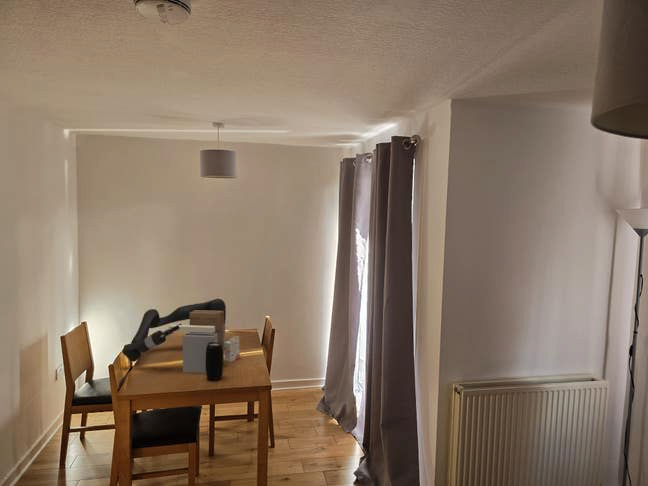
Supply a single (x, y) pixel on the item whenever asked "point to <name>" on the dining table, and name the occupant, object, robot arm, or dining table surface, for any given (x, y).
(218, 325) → the walnut pedestal
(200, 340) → the grey stand
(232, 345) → the ink cartridge box
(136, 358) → the robot arm
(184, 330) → the cream bar
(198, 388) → the dining table surface
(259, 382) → the dining table surface
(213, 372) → the portable speaker
